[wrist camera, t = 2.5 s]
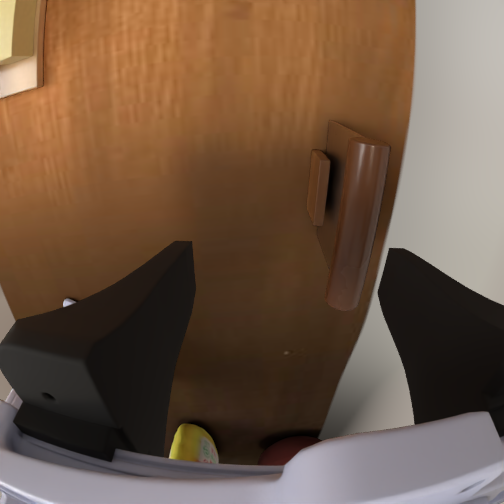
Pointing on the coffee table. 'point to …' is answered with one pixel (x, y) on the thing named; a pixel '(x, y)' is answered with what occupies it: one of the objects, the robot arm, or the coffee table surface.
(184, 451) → the bottle
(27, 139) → the coffee table surface
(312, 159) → the stand
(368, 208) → the scraper
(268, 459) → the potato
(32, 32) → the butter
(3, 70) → the board
